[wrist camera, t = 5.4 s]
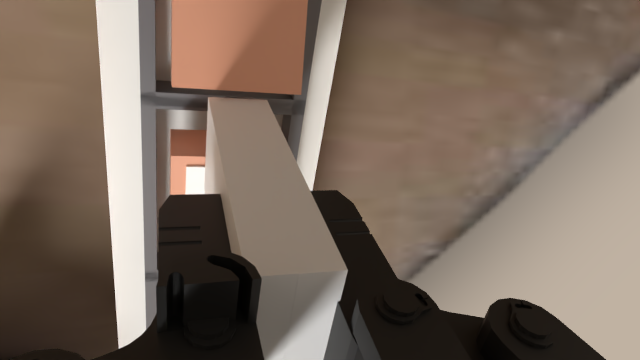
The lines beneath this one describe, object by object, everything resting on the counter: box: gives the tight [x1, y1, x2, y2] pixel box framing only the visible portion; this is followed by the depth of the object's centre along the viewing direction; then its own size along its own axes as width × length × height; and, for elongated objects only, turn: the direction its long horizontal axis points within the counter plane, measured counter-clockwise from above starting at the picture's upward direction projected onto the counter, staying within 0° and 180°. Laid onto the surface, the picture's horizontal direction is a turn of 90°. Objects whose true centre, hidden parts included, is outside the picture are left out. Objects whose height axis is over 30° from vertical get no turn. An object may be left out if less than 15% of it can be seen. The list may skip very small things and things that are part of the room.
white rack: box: [96, 0, 347, 349], centre depth 18 cm, size 21×7×6 cm, turn 171°
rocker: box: [170, 129, 207, 195], centre depth 15 cm, size 5×3×2 cm, turn 171°
